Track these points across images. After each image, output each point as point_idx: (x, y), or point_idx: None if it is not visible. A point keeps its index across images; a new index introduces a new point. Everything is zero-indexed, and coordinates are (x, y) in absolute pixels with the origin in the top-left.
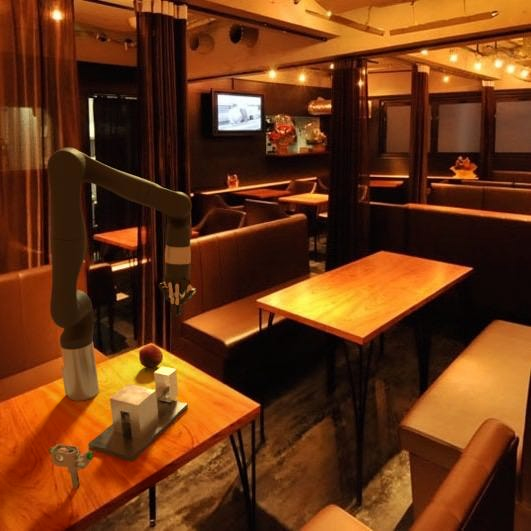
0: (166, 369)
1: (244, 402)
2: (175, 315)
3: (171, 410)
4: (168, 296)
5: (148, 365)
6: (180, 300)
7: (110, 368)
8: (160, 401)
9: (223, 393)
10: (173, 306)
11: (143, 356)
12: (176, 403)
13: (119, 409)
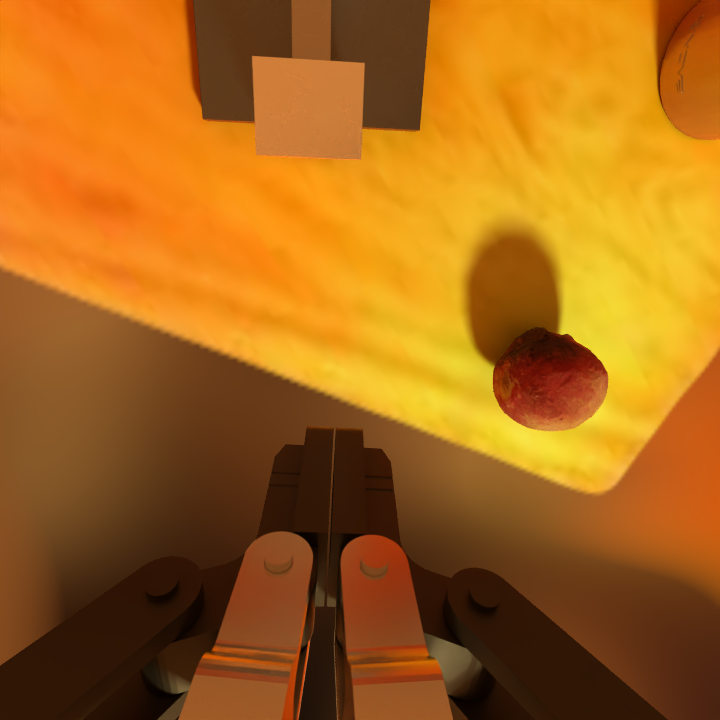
0: (310, 128)
1: (15, 251)
2: (322, 428)
3: (236, 31)
4: (484, 657)
5: (529, 332)
6: (216, 623)
7: (689, 296)
8: None
9: (139, 283)
10: (352, 508)
11: (570, 347)
12: (250, 100)
13: None
